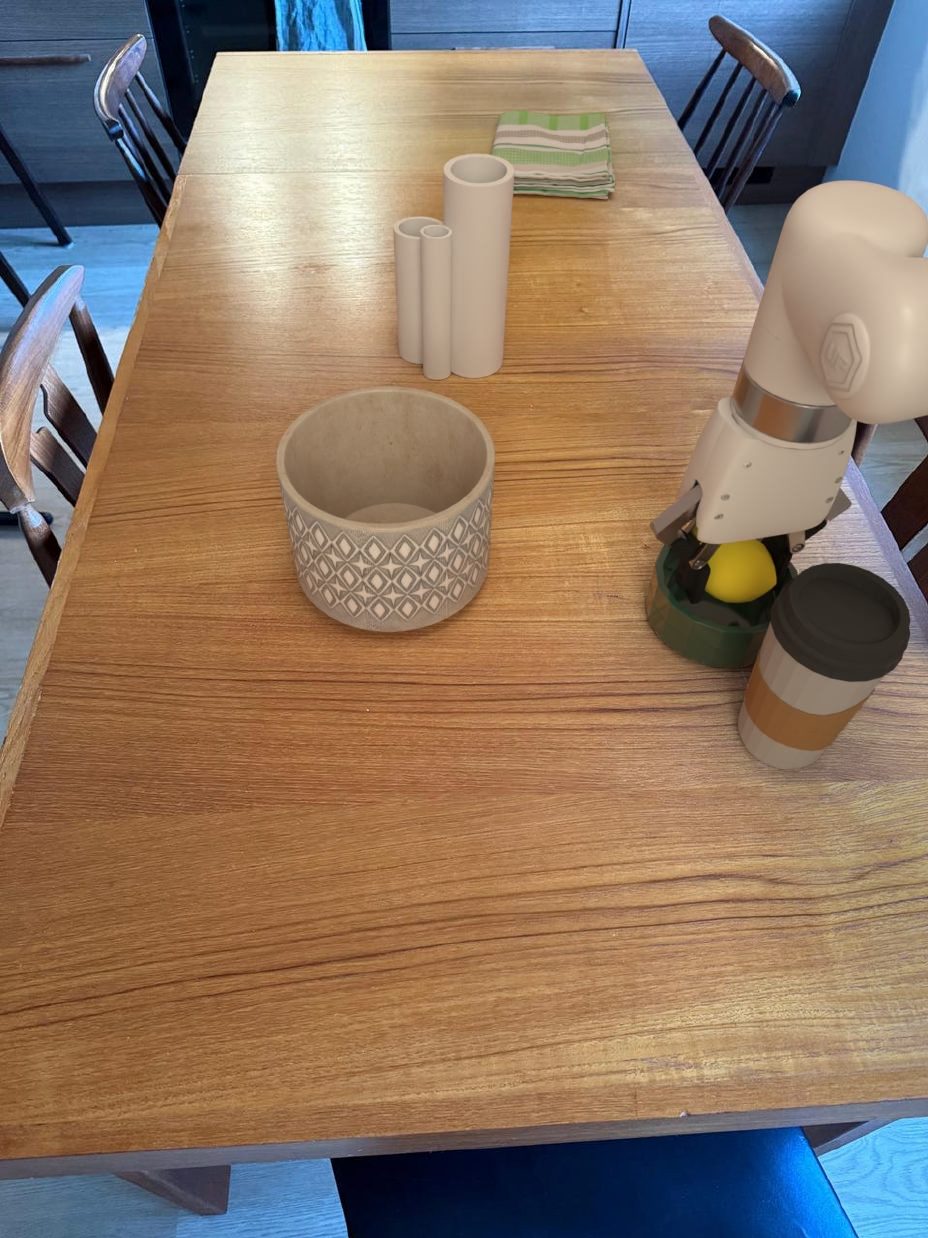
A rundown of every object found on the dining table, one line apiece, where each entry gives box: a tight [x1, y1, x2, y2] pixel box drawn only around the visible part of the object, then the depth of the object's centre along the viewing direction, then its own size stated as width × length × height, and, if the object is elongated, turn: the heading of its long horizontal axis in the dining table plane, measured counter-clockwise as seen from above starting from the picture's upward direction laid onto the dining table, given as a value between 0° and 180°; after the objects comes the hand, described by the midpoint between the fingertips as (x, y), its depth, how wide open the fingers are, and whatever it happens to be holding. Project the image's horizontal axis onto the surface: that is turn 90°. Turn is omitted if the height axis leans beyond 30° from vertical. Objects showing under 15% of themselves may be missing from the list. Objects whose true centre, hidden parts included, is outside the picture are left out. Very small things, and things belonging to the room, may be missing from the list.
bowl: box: [645, 538, 799, 669], centre depth 72 cm, size 11×11×5 cm
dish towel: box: [490, 110, 617, 200], centre depth 126 cm, size 17×23×4 cm
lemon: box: [700, 539, 776, 603], centre depth 69 cm, size 7×5×5 cm
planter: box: [275, 385, 496, 633], centre depth 72 cm, size 16×16×13 cm
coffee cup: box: [737, 562, 911, 770], centre depth 61 cm, size 8×8×15 cm
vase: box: [392, 153, 514, 381], centre depth 88 cm, size 11×7×20 cm, turn 89°
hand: (727, 582), depth 71 cm, fingers closed on lemon, 5 cm apart
